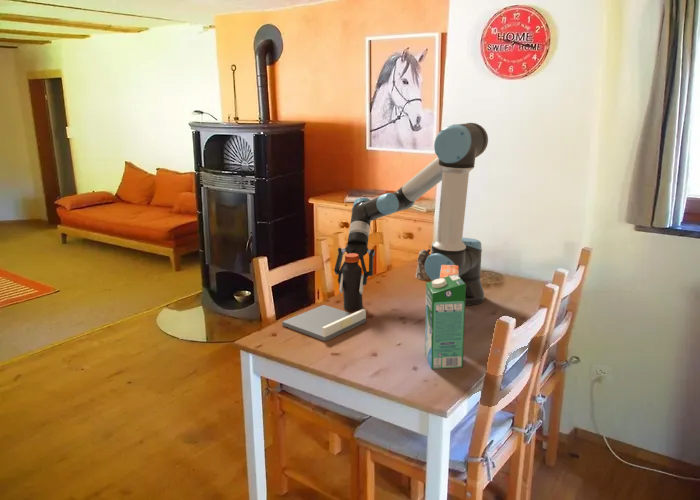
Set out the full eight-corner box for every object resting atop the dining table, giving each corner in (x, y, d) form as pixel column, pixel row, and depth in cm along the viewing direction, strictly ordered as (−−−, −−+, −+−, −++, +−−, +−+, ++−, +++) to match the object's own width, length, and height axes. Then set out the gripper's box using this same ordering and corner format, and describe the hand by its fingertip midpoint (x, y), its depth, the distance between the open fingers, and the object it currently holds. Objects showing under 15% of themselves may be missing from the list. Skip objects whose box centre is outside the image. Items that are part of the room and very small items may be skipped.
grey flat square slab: (366, 322, 193) (366, 309, 191) (326, 341, 178) (325, 328, 177) (323, 308, 206) (323, 296, 205) (282, 325, 192) (281, 313, 190)
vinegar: (340, 307, 206) (338, 254, 201) (354, 303, 210) (353, 251, 205) (351, 313, 201) (350, 258, 196) (366, 308, 205) (365, 255, 200)
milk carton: (424, 355, 168) (425, 274, 161) (454, 353, 169) (457, 273, 162) (431, 369, 159) (433, 285, 153) (463, 367, 160) (466, 283, 153)
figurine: (413, 275, 240) (413, 248, 237) (428, 273, 242) (429, 246, 239) (419, 280, 234) (419, 252, 230) (435, 278, 235) (435, 251, 232)
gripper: (385, 241, 213) (379, 297, 202) (335, 240, 216) (326, 295, 205) (383, 231, 206) (376, 288, 195) (331, 230, 210) (321, 286, 199)
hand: (350, 291), depth 200 cm, fingers closed on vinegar, 6 cm apart
